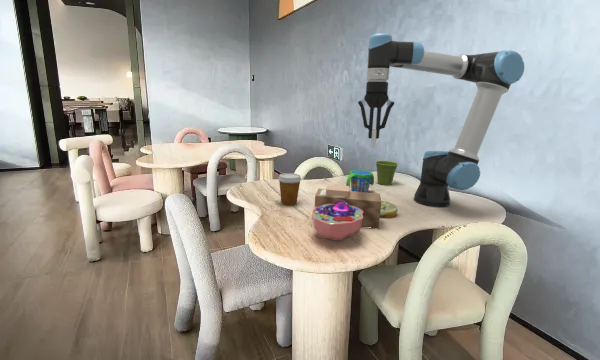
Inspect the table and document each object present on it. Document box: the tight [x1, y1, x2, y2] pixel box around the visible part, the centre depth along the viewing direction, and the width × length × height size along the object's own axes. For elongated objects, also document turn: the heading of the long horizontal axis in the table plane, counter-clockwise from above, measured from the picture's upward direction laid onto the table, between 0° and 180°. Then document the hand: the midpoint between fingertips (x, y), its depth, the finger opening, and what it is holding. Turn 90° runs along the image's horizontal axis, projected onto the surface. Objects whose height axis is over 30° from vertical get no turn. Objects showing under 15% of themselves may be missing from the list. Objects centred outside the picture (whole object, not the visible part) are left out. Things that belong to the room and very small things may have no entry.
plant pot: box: [374, 160, 399, 186], centre depth 183 cm, size 12×12×11 cm
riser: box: [314, 188, 382, 229], centre depth 128 cm, size 23×10×10 cm, turn 80°
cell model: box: [311, 201, 363, 241], centre depth 114 cm, size 17×20×11 cm
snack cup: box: [345, 169, 375, 193], centre depth 164 cm, size 16×10×10 cm
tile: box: [325, 184, 350, 197], centre depth 127 cm, size 2×7×8 cm
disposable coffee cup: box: [277, 172, 302, 207], centre depth 145 cm, size 10×10×12 cm
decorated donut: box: [380, 200, 399, 218], centre depth 139 cm, size 11×12×4 cm
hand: (372, 147), depth 129 cm, fingers closed
